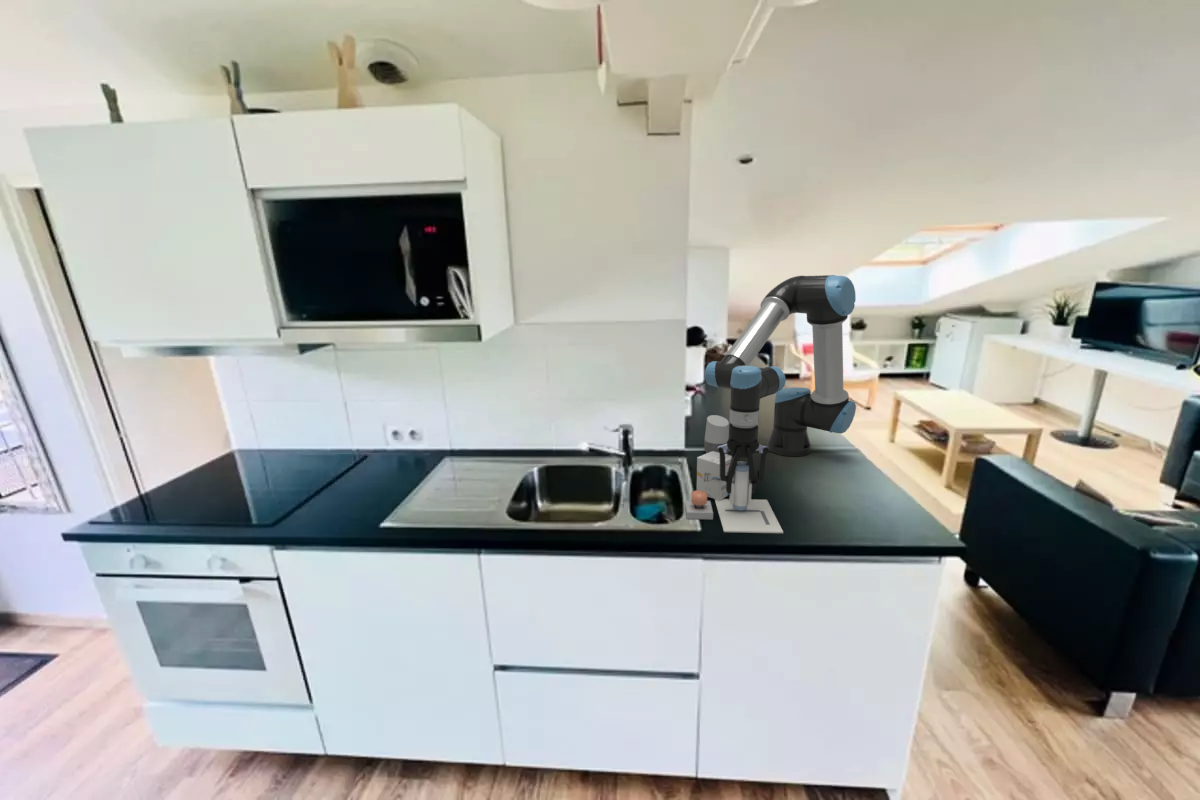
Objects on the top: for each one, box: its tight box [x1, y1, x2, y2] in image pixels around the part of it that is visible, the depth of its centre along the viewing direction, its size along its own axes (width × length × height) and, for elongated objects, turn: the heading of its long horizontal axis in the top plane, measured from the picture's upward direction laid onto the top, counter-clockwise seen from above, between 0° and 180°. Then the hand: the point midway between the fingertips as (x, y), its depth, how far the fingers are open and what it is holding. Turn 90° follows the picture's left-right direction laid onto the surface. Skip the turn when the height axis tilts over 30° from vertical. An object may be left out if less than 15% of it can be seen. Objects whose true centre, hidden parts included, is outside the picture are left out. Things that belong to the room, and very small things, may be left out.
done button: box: [690, 489, 708, 509], centre depth 136 cm, size 4×4×4 cm
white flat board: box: [714, 498, 784, 534], centre depth 134 cm, size 18×15×1 cm
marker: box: [732, 460, 750, 510], centre depth 134 cm, size 4×4×13 cm
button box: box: [684, 500, 714, 520], centre depth 136 cm, size 7×7×2 cm
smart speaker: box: [703, 414, 730, 455], centre depth 177 cm, size 10×9×14 cm
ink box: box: [696, 451, 734, 500], centre depth 147 cm, size 9×8×12 cm
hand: (739, 503), depth 136 cm, fingers closed on marker, 4 cm apart
